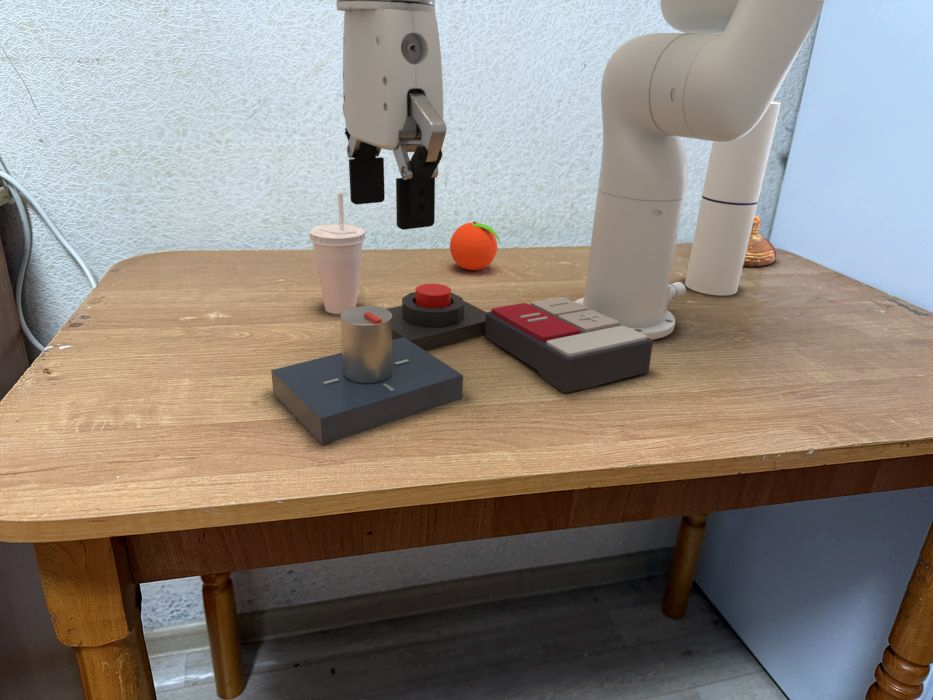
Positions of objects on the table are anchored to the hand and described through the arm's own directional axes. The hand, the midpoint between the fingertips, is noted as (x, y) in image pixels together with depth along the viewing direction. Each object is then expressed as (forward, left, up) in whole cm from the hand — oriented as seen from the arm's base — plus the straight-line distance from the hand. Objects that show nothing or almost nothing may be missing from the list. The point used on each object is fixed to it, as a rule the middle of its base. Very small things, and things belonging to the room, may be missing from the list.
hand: (390, 214), depth 56 cm
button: (-10, -7, -13) cm, 18 cm away
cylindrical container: (-53, +1, -16) cm, 55 cm away
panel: (+4, +3, -16) cm, 17 cm away
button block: (-10, -7, -16) cm, 20 cm away
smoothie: (-4, -18, -16) cm, 25 cm away
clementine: (-28, -22, -16) cm, 39 cm away
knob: (+4, +3, -13) cm, 14 cm away
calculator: (-18, +6, -16) cm, 25 cm away
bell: (-71, -6, -16) cm, 73 cm away
